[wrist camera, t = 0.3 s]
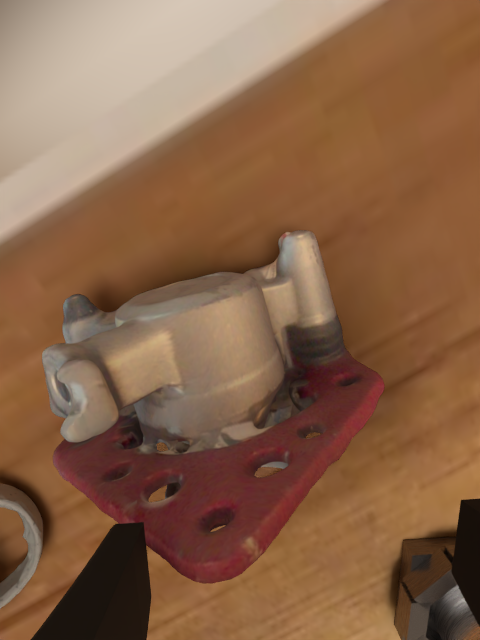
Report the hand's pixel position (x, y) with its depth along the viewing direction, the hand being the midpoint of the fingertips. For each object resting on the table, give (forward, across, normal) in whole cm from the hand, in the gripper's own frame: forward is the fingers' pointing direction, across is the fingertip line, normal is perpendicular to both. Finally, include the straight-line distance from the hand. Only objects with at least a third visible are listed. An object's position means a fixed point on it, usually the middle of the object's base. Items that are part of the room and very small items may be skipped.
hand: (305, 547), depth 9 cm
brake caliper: (+10, +2, -1) cm, 10 cm away
